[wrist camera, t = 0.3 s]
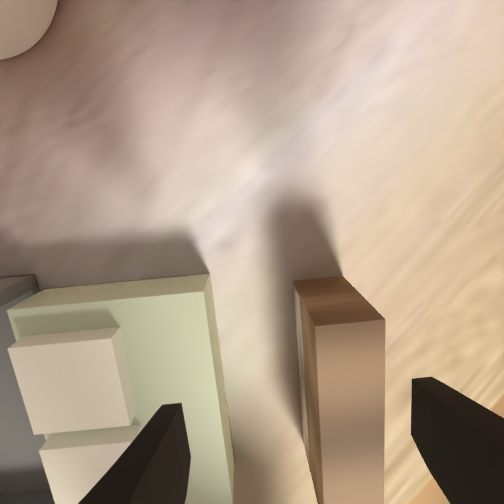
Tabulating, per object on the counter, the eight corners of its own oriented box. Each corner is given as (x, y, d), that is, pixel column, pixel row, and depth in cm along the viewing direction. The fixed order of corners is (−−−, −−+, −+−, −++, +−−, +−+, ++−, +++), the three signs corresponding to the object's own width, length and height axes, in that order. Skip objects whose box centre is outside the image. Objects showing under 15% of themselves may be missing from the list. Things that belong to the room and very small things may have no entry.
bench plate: (234, 462, 22) (232, 506, 19) (92, 476, 22) (70, 521, 19) (209, 273, 19) (203, 291, 16) (43, 289, 19) (6, 310, 16)
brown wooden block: (346, 438, 22) (383, 532, 16) (303, 442, 22) (324, 538, 16) (342, 275, 19) (385, 319, 13) (292, 280, 19) (313, 326, 13)
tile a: (155, 494, 19) (149, 515, 18) (72, 502, 19) (61, 523, 18) (140, 424, 18) (133, 441, 17) (52, 432, 18) (38, 450, 17)
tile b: (137, 409, 17) (130, 425, 16) (47, 417, 17) (33, 435, 16) (120, 326, 16) (110, 338, 15) (24, 336, 16) (7, 348, 15)
